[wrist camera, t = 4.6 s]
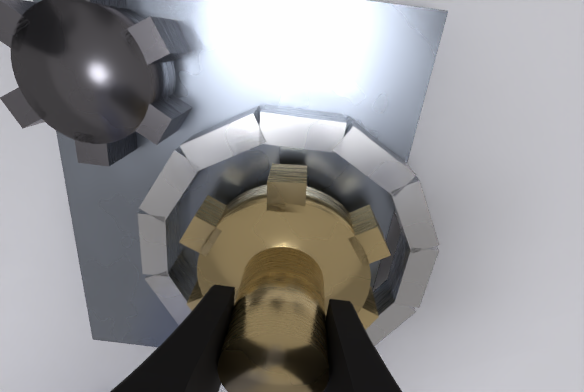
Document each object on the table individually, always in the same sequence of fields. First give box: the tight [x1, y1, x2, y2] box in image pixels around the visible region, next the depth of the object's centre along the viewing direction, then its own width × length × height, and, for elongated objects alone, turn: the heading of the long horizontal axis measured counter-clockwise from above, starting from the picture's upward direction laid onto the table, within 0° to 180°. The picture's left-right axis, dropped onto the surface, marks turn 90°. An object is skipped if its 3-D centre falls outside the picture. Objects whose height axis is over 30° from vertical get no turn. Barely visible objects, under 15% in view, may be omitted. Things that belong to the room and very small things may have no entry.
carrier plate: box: [0, 0, 448, 347], centre depth 13 cm, size 16×15×3 cm
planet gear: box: [179, 164, 391, 392], centre depth 11 cm, size 7×7×5 cm
